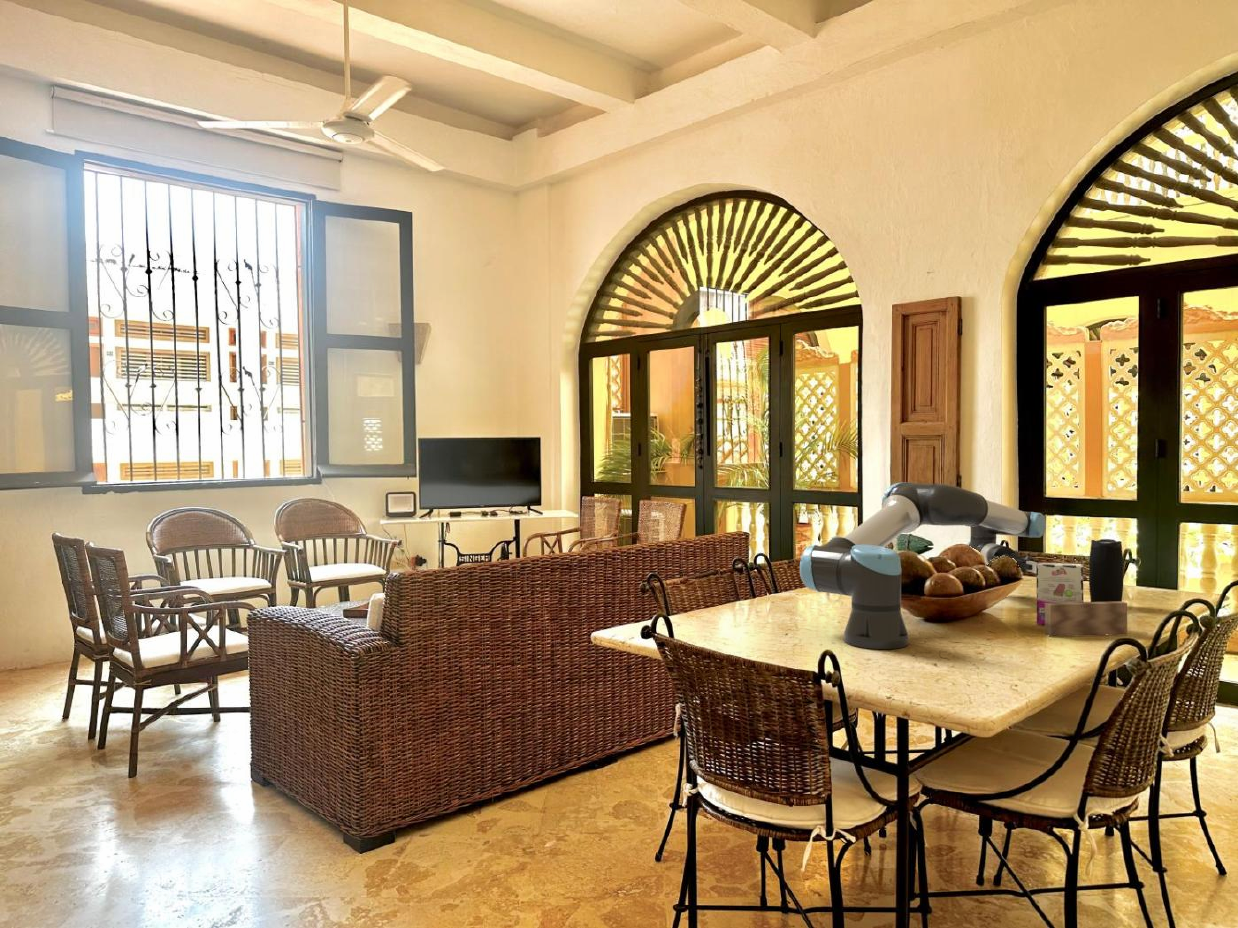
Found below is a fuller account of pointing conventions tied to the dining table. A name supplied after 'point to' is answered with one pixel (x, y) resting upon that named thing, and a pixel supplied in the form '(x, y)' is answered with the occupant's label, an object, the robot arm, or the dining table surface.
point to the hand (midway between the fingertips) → (1041, 569)
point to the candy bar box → (1058, 585)
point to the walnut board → (1085, 618)
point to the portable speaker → (1106, 571)
